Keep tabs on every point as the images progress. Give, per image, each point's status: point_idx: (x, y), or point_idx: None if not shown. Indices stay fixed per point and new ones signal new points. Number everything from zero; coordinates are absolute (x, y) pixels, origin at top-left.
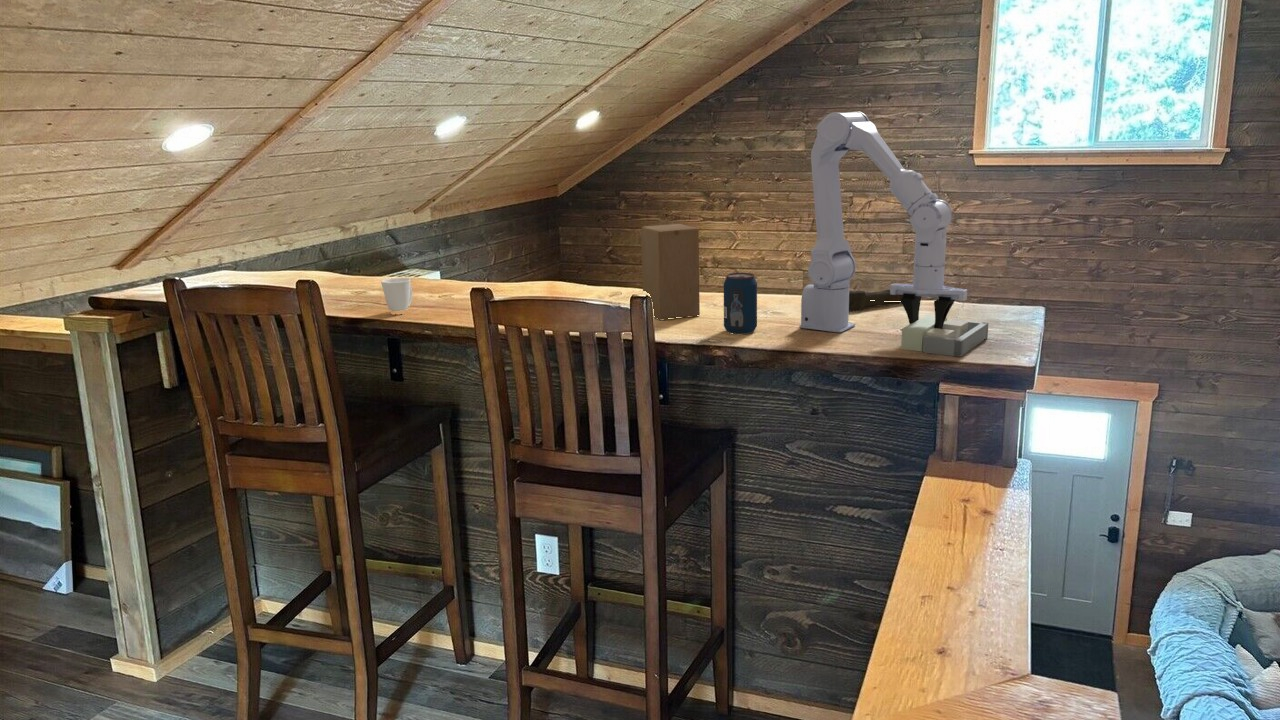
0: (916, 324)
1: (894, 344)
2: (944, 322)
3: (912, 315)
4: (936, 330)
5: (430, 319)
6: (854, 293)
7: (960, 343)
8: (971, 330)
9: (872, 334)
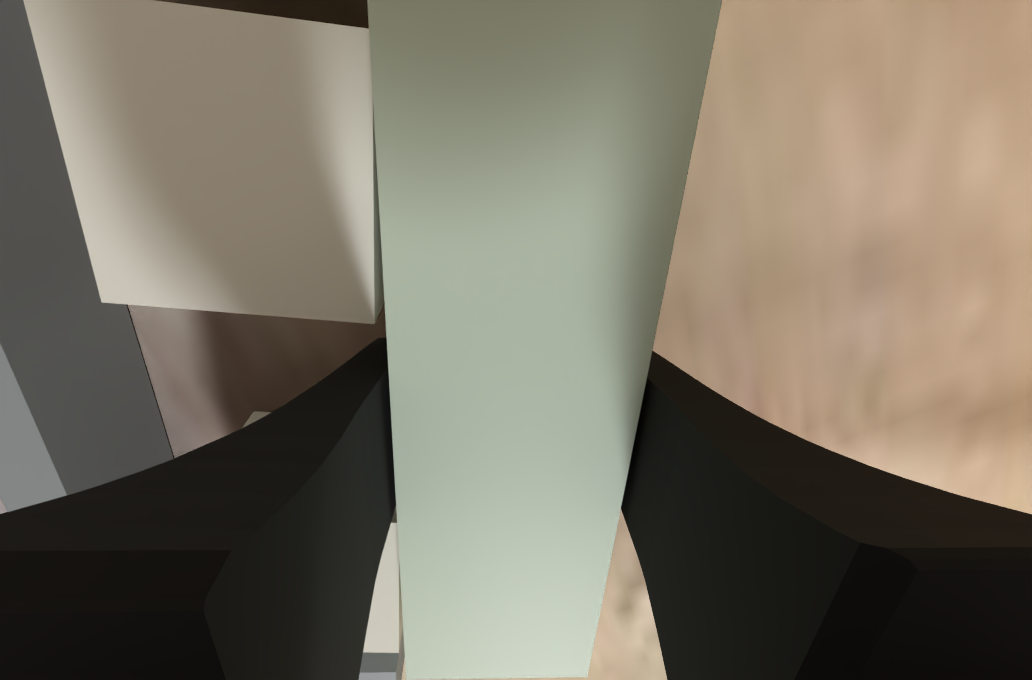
0: (589, 284)
1: (739, 116)
2: (386, 571)
3: (696, 422)
4: (289, 204)
5: None
6: None
7: None
8: (29, 446)
9: (945, 376)
